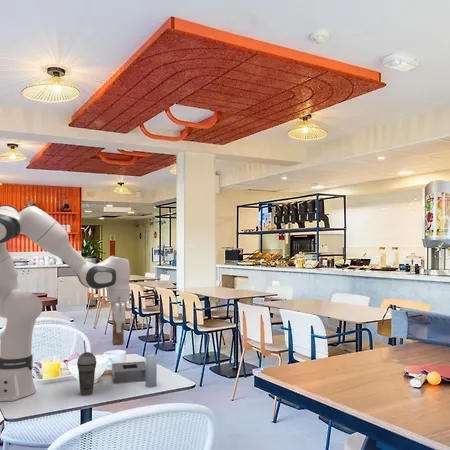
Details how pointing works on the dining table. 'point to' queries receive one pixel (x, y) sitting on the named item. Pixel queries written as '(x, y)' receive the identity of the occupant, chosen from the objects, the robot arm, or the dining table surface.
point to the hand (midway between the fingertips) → (117, 331)
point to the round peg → (151, 370)
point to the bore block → (129, 372)
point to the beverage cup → (86, 372)
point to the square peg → (118, 334)
